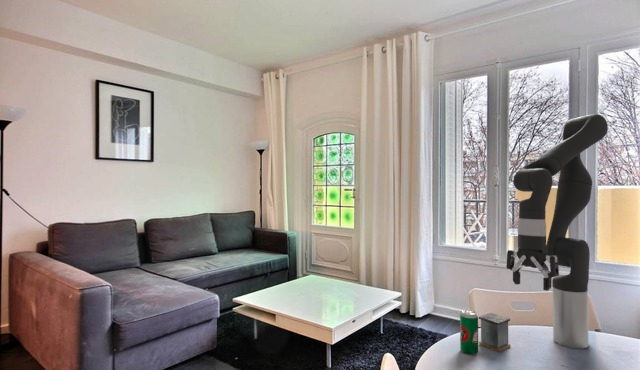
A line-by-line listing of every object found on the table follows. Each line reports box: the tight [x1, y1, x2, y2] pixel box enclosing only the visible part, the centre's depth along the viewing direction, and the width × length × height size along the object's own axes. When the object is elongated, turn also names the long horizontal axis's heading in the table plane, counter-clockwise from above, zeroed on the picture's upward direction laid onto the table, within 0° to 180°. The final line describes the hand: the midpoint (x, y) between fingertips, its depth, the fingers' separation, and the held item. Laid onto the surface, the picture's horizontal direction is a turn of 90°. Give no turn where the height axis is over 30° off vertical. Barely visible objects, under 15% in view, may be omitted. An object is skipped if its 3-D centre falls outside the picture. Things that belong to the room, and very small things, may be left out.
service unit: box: [478, 312, 511, 353], centre depth 113 cm, size 6×6×9 cm
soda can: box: [459, 309, 479, 356], centre depth 109 cm, size 5×5×12 cm
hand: (531, 287), depth 110 cm, fingers open, 8 cm apart
